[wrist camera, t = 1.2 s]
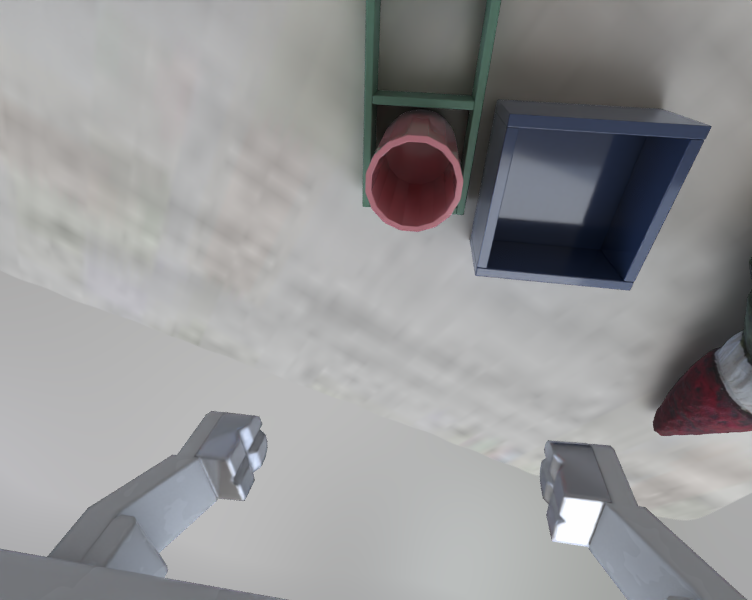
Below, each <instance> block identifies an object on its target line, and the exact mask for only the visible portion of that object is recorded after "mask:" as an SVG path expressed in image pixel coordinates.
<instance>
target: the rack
mask: <svg viewBox="0 0 752 600" xmlns="http://www.w3.org/2000/svg"><path fill="white" fill-rule="evenodd" d="M380 4H381V0H366V35H365V92H364V150H363V207H369V206H370V203H369V200H368V198H367V195H366V192H365V184H366V172H367V169H368V167H369V165H370V162H371V160H372V158H373V156H374V154H375V149H376V120H377V105H393V106H410V107H426V108H442V109H459V110H469V117H468V123H467V129H466V136H465V142H464V148H463V154H462V161H461V169H462V174H463V181H464V182H463V188H462V194H461V199H460V201H459V203H458V205H457V206H456V208H455V209H454V211H453V213H452V214H457V215H463V214H464V209H465V204H466V198H467V192H468V187H469V181H470V175H471V169H472V164H473V158H474V152H475V147H476V141H477V135H478V130H479V124H480V118H481V113H482V107H483V101H484V96H485V90H486V84H487V79H488V73H489V67H490V61H491V56H492V50H493V44H494V39H495V33H496V27H497V22H498V16H499V10H500V5H501V0H487V4H486V10H485V16H484V22H483V29H482V35H481V41H480V48H479V54H478V60H477V66H476V73H475V79H474V85H473V92H472V96H471V95H455V94H437V93H420V92H403V91H386V90H378V62H379V33H380ZM370 207H371V206H370Z"/></svg>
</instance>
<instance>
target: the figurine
mask: <svg viewBox="0 0 752 600" xmlns="http://www.w3.org/2000/svg"><path fill="white" fill-rule="evenodd" d="M749 265H750V275H751V279H752V257H751V258H750V261H749ZM653 427H654V431H656V432H657V433H659V434H660V435H661V436H672V435H692V434H693V435H701V434H712V433H729V432H746V431H752V290H751V292H750V294H749V296H748V298H747V309H746V316H745V323H744V330H743V331H741V332H739V333H737V334H736V335H734V336H733V337H731V338H730V339H729V340H728V341H727V342H726V343H725V344H724V346H723V347H719V348H716V349H714V350H712V351H710V352H709V353H707V354H706V355H705V356H703V357H702V358H701V359H700V360H698V361H697V362H696V363H695V364H693V365H692V366H691V367H690V368H689V370H688V371H687V372H686V373H685V374H684V375H683V376H682V377H681V378H680V379H679V381H678V382H677V383H676V384H675V386H674V387H673V388H672V389H671V390H670V392H669V393H668V395H667V396H666V398H665V399H664V401H663V403H662V405H661V406H660V407H659V408H658V409H657V411H656V414H655V417H654V421H653Z"/></svg>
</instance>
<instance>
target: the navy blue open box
mask: <svg viewBox="0 0 752 600" xmlns="http://www.w3.org/2000/svg"><path fill="white" fill-rule="evenodd" d="M710 129H711V126H710V125H707V124H704V123H701V122H699V121H696V120H693V119H690V118H687V117H684V116H682V115H679V114H676V113H673V112H670V111H667V110H664V109H655V108H638V107H621V106H604V105H587V104H570V103H553V102H536V101H519V100H502V99H498V100H497V104H496V109H495V114H494V119H493V124H492V129H491V134H490V140H489V145H488V150H487V155H486V160H485V165H484V171H483V176H482V181H481V186H480V191H479V196H478V202H477V207H476V212H475V217H474V222H473V227H472V233H471V238H470V245H471V252H472V258H473V265H474V271H475V275H476V276H485V277H495V278H505V279H516V280H526V281H537V282H547V283H557V284H568V285H578V286H589V287H599V288H609V289H620V290H630V289H631V287H632V285H633V283H634V281H635V279H636V277H637V275H638V273H639V271H640V269H641V267H642V265H643V263H644V261H645V259H646V257H647V255H648V253H649V251H650V249H651V247H652V245H653V243H654V241H655V239H656V237H657V235H658V233H659V231H660V229H661V227H662V225H663V223H664V221H665V219H666V217H667V215H668V213H669V211H670V209H671V207H672V205H673V203H674V201H675V199H676V197H677V195H678V193H679V191H680V189H681V187H682V185H683V183H684V181H685V179H686V176H687V174H688V172H689V170H690V168H691V166H692V164H693V162H694V160H695V158H696V156H697V154H698V152H699V150H700V148H701V146H702V144H703V142H704V140H705V139H706V137H707V135H708V133H709V131H710Z"/></svg>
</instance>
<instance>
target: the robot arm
mask: <svg viewBox="0 0 752 600" xmlns="http://www.w3.org/2000/svg"><path fill="white" fill-rule="evenodd" d="M261 426H262V422H261V419H260V417H259V416H254V415H253V416H252V415H245V414H236V413H228V412H217V411H211V412H209V413H208V414H206V415H205V417H204V418H203V420H202V421H201V423H200V424H199V425H198V427H197V428H196V429H195V431H194V432H193V434H192V435H191V436H190V438H189V439H188V441H187V442H186V443H185V445H184V446H183V448H182V449H181V450H180V452H179V453H178V454H177V455H171V456H170V457H168V458H167V459H165V460H163V461H162V462H161V463H159V464H157V465H156V466H154V467H152V468H151V469H149V470H148V471H146V472H144V473H143V474H141V475H140V476H138V477H136V478H135V479H133V480H132V481H130V482H128V483H127V484H125V485H124V486H122V487H121V488H119V489H117V490H116V491H114V492H113V493H111V494H109V495H108V496H106V497H105V498H103V499H101V500H100V501H98V502H97V503H95V504H93V505H92V506H90V507H89V508H87V510H86V511H85V512H84V513H83V514H82V516H81V517H80V518H79V519H78V520H77V522H76V523H75V524H74V525H73V526H72V528H71V529H70V530H69V531H68V532H67V534H66V535H65V536H64V537H63V538H62V540H61V541H60V542H59V543H58V544H57V546H56V547H55V548H54V549H53V551H52V552H51V553H50V554H49V556H47V557H44V556H38V555H33V554H27V553H21V552H16V551H10V550H4V549H0V600H287V599H282V598H276V597H270V596H264V595H259V594H253V593H248V592H242V591H236V590H231V589H225V588H219V587H214V586H207V585H203V584H196V583H191V582H186V581H180V580H174V579H168V578H164V577H165V575H166V573H167V572H168V569H167V565H166V563H165V562H164V560H163V559H162V557H161V556H160V554H159V552H161V551H162V550H163V549H164V548H165V547H166V546H167V545H168V544H170V543H171V542H172V541H173V540H174V539H175V538H176V537H177V536H178V535H179V534H180V533H182V532H183V531H184V530H185V529H186V528H187V527H188V526H189V525H190V524H192V523H193V522H194V521H195V520H196V519H197V518H198V517H199V516H200V515H201V514H203V513H204V512H205V511H206V510H207V509H208V508H209V507H210V506H212V505H213V504H214V503H215V502H216V501H217V498H219V499H230V500H239V501H245V499H246V497H247V495H248V493H249V491H250V489H251V487H252V485H253V483H254V480H255V479H254V474H253V472H255V471H256V470H257V469H259V468H260V467H261V466H262V464H263V462H264V460H265V457H266V452H267V439H266V435H265V434H264V433H263V432H262V431H261V430H260V428H261ZM544 451H545V456H546V458H545V459H544V460H542V462H541V468H540V484H541V491H542V496H543V499H544V500H545V501H546V502H547V503H548V504H549V506H548V510H547V514H546V516H547V520H548V525H549V530H550V535H551V539H552V541H554V542H560V543H567V544H573V545H579V546H586V547H589V550H590V551H591V553H592V554H593V555H594V557H595V558H596V559H597V561H598V562H599V563H600V564H601V566H602V567H603V568H604V570H605V571H606V572H607V574H608V575H609V576H610V578H611V579H612V580H613V581H614V583H615V584H616V585H617V587H618V588H619V589H620V591H621V592H622V593H623V595H624V596H625V597H626V599H627V600H747V599H746V598H745V597H744V596H742V595H741V594H740V593H739V592H738V591H737V590H736V589H735V588H734V587H733V586H731V585H730V584H729V583H728V582H727V581H726V580H725V579H724V578H723V577H721V576H720V575H719V574H718V573H717V572H716V571H715V570H714V569H713V568H712V567H710V566H709V565H708V564H707V563H706V562H705V561H704V560H703V559H702V558H701V557H700V556H698V555H697V554H696V553H695V552H694V551H693V550H692V549H691V548H690V547H688V546H687V545H686V544H685V543H684V542H683V541H682V540H681V539H680V538H679V537H677V536H676V535H675V534H674V533H673V532H672V531H671V530H670V529H669V528H668V527H666V526H665V525H664V524H663V523H662V522H661V521H660V520H659V519H658V518H657V517H655V516H654V515H653V514H652V513H651V512H650V511H649V510H648V509H647V508H646V507H640V506H638V504H637V502H636V500H635V497H634V495H633V493H632V490H631V488H630V486H629V483H628V481H627V478H626V476H625V474H624V471H623V469H622V467H621V464H620V462H619V460H618V457H617V455H616V453H615V450H614V449H613V448H612V447H611V446H609V445H598V444H587V443H577V442H563V441H550V440H548V441H547V442H546V444H545V448H544Z"/></svg>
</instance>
